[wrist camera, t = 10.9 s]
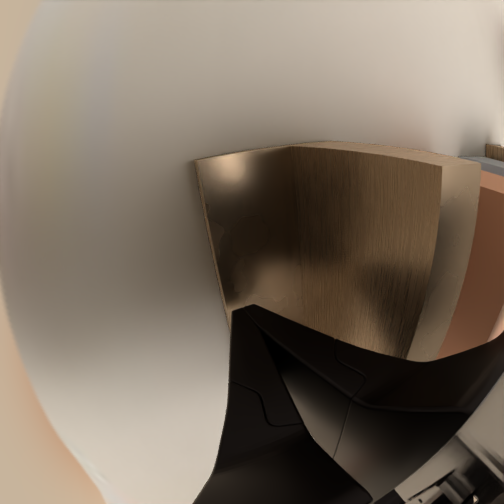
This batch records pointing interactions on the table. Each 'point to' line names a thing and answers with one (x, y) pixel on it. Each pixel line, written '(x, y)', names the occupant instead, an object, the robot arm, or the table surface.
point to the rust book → (481, 276)
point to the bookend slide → (344, 238)
